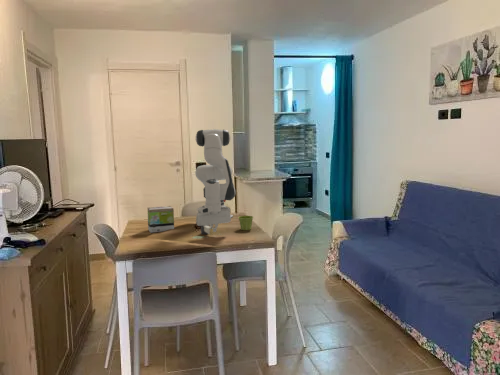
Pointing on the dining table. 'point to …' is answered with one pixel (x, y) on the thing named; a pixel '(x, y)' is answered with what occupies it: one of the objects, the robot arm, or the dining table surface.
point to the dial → (201, 237)
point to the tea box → (160, 218)
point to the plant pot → (245, 222)
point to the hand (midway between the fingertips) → (214, 231)
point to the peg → (206, 230)
